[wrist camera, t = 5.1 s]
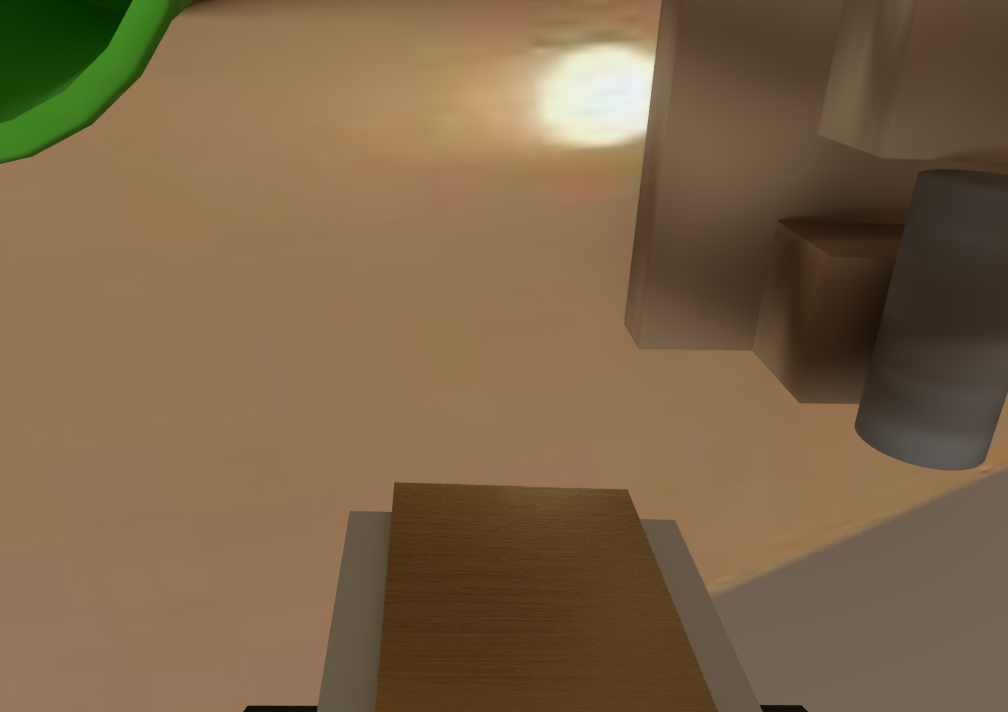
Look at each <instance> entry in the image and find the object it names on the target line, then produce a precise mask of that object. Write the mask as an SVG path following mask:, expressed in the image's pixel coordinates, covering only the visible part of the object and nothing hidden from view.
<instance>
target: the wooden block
mask: <svg viewBox="0 0 1008 712" xmlns="http://www.w3.org/2000/svg"><path fill="white" fill-rule="evenodd" d="M375 712H718V710H717V708H716V705H715V703H714V700H713V698H712V696H711V693H710V691H709V688H708V686H707V683H706V681H705V678H704V676H703V674H702V671H701V669H700V666H699V664H698V661H697V659H696V656H695V654H694V651H693V649H692V647H691V644H690V642H689V639H688V637H687V634H686V632H685V629H684V627H683V624H682V622H681V620H680V617H679V615H678V612H677V610H676V607H675V605H674V602H673V600H672V598H671V595H670V593H669V590H668V588H667V585H666V583H665V580H664V578H663V575H662V573H661V571H660V568H659V566H658V563H657V561H656V558H655V556H654V553H653V551H652V548H651V546H650V544H649V541H648V539H647V536H646V534H645V531H644V529H643V526H642V524H641V522H640V519H639V517H638V514H637V512H636V509H635V507H634V504H633V502H632V499H631V497H630V495H629V492H628V490H622V489H590V488H558V487H527V486H495V485H463V484H432V483H400V482H394V493H393V505H392V517H391V528H390V540H389V552H388V564H387V576H386V588H385V600H384V612H383V624H382V636H381V648H380V660H379V672H378V684H377V696H376V708H375Z"/></svg>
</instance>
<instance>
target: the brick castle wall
mask: <svg viewBox="0 0 1008 712" xmlns="http://www.w3.org/2000/svg"><path fill="white" fill-rule="evenodd" d="M624 324H625V326H626V328H627V330H628V331H629V333H630V335H631V336H632V338H633V340H634V342H635V343H636V345H637V347H638V348H639V349H690V350H752V351H753V352H754V353H755V354H756V355H757V356H758V358H759V359H760V360H761V361H762V362H763V363H764V364H765V365H766V366H767V368H768V369H769V370H770V371H771V372H772V373H773V374H774V375H775V376H776V378H777V379H778V380H779V381H780V382H781V383H782V384H783V385H784V387H785V388H786V389H787V390H788V391H789V392H790V393H791V394H792V395H793V397H794V398H795V399H796V400H797V401H798V402H799V403H830V404H860V405H859V409H858V413H857V417H856V421H855V429H856V432H857V433H858V435H859V436H860V437H861V438H862V439H863V440H864V441H865V442H866V443H867V444H869V445H870V446H871V447H873V448H875V449H876V450H878V451H880V452H882V453H884V454H886V455H888V456H890V457H893V458H895V459H898V460H900V461H903V462H907V463H910V464H913V465H917V466H921V467H926V468H932V469H939V470H966V469H971V468H974V467H977V466H979V465H981V464H982V463H983V462H984V461H985V458H986V456H987V453H988V450H989V447H990V444H991V441H992V437H993V434H994V431H995V428H996V425H997V422H998V419H999V416H1000V413H1001V410H1002V407H1003V404H1004V401H1005V398H1006V395H1007V392H1008V0H662V6H661V15H660V23H659V32H658V41H657V49H656V58H655V66H654V75H653V83H652V92H651V100H650V109H649V118H648V126H647V135H646V143H645V152H644V160H643V169H642V177H641V186H640V195H639V203H638V212H637V220H636V229H635V237H634V246H633V254H632V263H631V272H630V280H629V289H628V297H627V306H626V314H625V323H624Z"/></svg>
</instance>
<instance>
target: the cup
mask: <svg viewBox="0 0 1008 712" xmlns="http://www.w3.org/2000/svg"><path fill="white" fill-rule="evenodd" d="M193 1H194V0H0V164H1V163H6V162H10V161H15V160H19V159H23V158H28V157H32V156H34V155H36V154H38V153H40V152H41V151H43V150H45V149H47V148H49V147H51V146H53V145H55V144H56V143H58V142H60V141H62V140H64V139H66V138H68V137H69V136H71V135H73V134H75V133H77V132H79V131H81V130H82V129H84V128H86V127H88V126H90V125H92V124H93V123H94V122H95V121H96V120H97V119H98V118H99V117H100V116H101V115H102V114H103V113H104V112H105V111H106V110H107V109H108V108H109V107H110V106H111V105H112V104H113V103H114V102H115V101H116V100H117V99H118V98H119V97H120V96H121V95H122V94H123V93H124V92H125V91H126V90H127V89H128V88H129V87H130V86H131V85H132V84H133V83H134V82H135V81H136V80H137V79H138V78H139V77H141V75H142V73H143V72H144V70H145V68H146V66H147V64H148V63H149V61H150V59H151V57H152V55H153V54H154V52H155V50H156V48H157V46H158V45H159V43H160V41H161V39H162V38H163V36H164V34H165V32H166V30H167V29H168V27H169V25H170V23H171V21H172V20H173V19H174V18H175V17H176V16H177V15H178V14H179V13H181V12H182V11H183V10H184V9H185V8H186V7H187V6H188V5H189V4H191V3H192V2H193Z"/></svg>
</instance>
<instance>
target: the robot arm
mask: <svg viewBox="0 0 1008 712" xmlns="http://www.w3.org/2000/svg"><path fill="white" fill-rule="evenodd" d="M391 517H392V512H370V511H350V513H349V519H348V525H347V532H346V538H345V544H344V550H343V556H342V562H341V568H340V574H339V580H338V586H337V592H336V598H335V605H334V611H333V617H332V623H331V629H330V635H329V641H328V647H327V653H326V659H325V665H324V671H323V678H322V684H321V690H320V696H319V702H318V706H247V707H246V709H245V710H244V711H243V712H375V708H376V696H377V684H378V672H379V660H380V648H381V636H382V624H383V612H384V600H385V588H386V576H387V564H388V552H389V540H390V528H391ZM640 522H641V524H642V526H643V529H644V531H645V534H646V536H647V539H648V541H649V544H650V546H651V548H652V551H653V553H654V556H655V558H656V561H657V563H658V566H659V568H660V571H661V573H662V575H663V578H664V580H665V583H666V585H667V588H668V590H669V593H670V595H671V598H672V600H673V602H674V605H675V607H676V610H677V612H678V615H679V617H680V620H681V622H682V624H683V627H684V629H685V632H686V634H687V637H688V639H689V642H690V644H691V647H692V649H693V651H694V654H695V656H696V659H697V661H698V664H699V666H700V669H701V671H702V674H703V676H704V678H705V681H706V683H707V686H708V688H709V691H710V693H711V696H712V698H713V700H714V703H715V705H716V708H717V710H718V712H808V711H807V710H806V709H805V708H803V706H801V705H759V703H758V701H757V698H756V696H755V694H754V692H753V690H752V687H751V685H750V683H749V681H748V679H747V677H746V674H745V672H744V670H743V668H742V666H741V664H740V661H739V659H738V657H737V655H736V653H735V650H734V648H733V646H732V644H731V642H730V639H729V637H728V635H727V633H726V631H725V629H724V626H723V624H722V622H721V620H720V618H719V615H718V613H717V611H716V609H715V607H714V605H713V602H712V600H711V598H710V596H709V594H708V591H707V589H706V587H705V585H704V583H703V580H702V578H701V576H700V574H699V572H698V570H697V567H696V565H695V563H694V561H693V559H692V556H691V554H690V552H689V550H688V548H687V546H686V543H685V541H684V539H683V537H682V535H681V532H680V530H679V528H678V526H677V524H676V522H675V520H652V519H640Z"/></svg>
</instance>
